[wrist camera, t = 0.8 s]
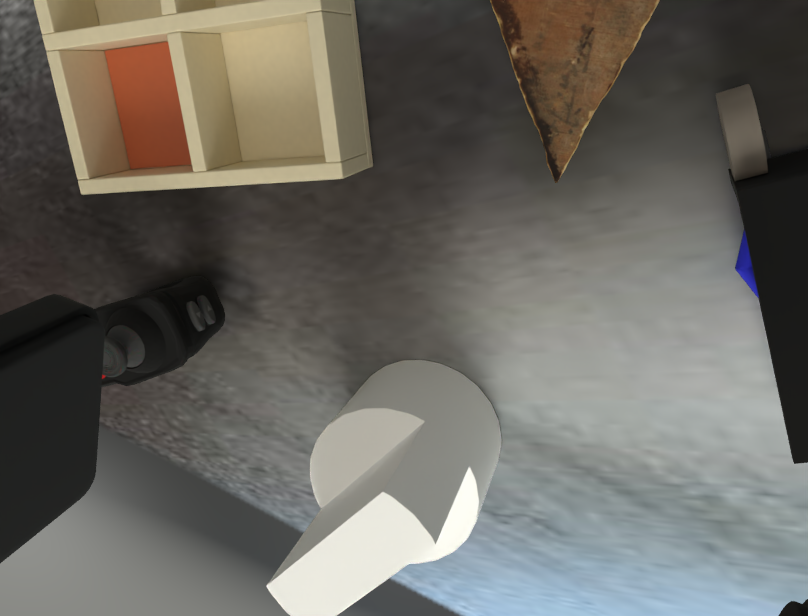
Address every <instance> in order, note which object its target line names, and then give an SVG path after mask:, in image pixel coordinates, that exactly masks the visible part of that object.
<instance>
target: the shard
mask: <svg viewBox="0 0 808 616" xmlns="http://www.w3.org/2000/svg"><path fill="white" fill-rule="evenodd" d="M490 1H491V4H492V8H493V11H494V13H495V15H496V17H497V20H498V23H499V25H500V28H501V33H502V36H503V39H504V41H505V44H506V46H507V49H508V52H509V55H510V59H511V63H512V66H513V69H514V72H515V75H516V78H517V80H518V82H519V87H520V89H521V91H522V94H523V97H524V100H525V103H526V105H527V108H528V111H529V113H530V114H531V116H532V119H533V122H534V124H535V126H536V127H537V129H538V131H539V134H540V137H541V139H542V142H543V146H544V149H545V151H546V161H547V164H548V166H549V168H550V171H551V174H552V176H553V179H554V181H555V183H557V182H558V180H559V178H560V177H561V175H562V174H563V172H564V171H565V169H566V167H567V164H568V162H569V161H570V159H571V157H572V155H573V154H574V152H575V150H576V149H577V147H578V144H579V141H580V139H581V137H582V134H583V132H584V130H585V128H586V127H587V125H588V123H589V121H590V120H591V118H592V116H593V114H594V112H595V110H596V109H597V107H598V105H599V104H600V102H601V100H602V99H603V98H604V97H605V96H606V94H607V93H608V91H609V90H610V89H611V87H612V85H613V84H614V82H615V80H616V78H617V77H618V75H619V73H620V71H621V69H622V66H623V65H624V63H625V61H626V60H627V59H628V57H629V56H630V54H631V53H632V52H633V50H634V48H635V46H636V44H637V42H638V40H639V39H640V37H641V33H642V31H643V29H644V27H645V26H646V24H647V23H648V22H649V20H650V18H651V15H652V14H653V12H654V10H655V9H656V7H657V5H658V3H659V1H660V0H490Z"/></svg>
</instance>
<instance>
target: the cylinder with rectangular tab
mask: <svg viewBox="0 0 808 616" xmlns="http://www.w3.org/2000/svg"><path fill="white" fill-rule="evenodd" d="M501 443H502V438H501V431H500V424H499V420H498V418H497V415H496V413H495V411H494V409H493V406H492V404H491V402H490V401H489V400H488V398H487V397H486V396H485V395H484V393H483V392H482V391H481V390H480V388H479V387H478V386H477V385H476V384H474V383H473V382H472V381H471V380H469V379H468V378H467V377H466V376H464V375H463V374H462V373H460V372H458V371H456V370H454V369H452V368H450V367H447V366H445V365H443V364H440V363H435V362H430V361H426V360H403V361H399V362H396V363H393V364H390V365H387V366H384V367H383V368H381V369H380V370H378V371H377V372H375V373H374V374H373V375H371V376H370V377H369V378H368V379H367V380H366V382H365V383H364V384H363V385H362V386H361V387H360V389H359V390H358V391H357V392H356V393H355V394H354V396H353V397H352V398H351V399H350V400H349V401H348V403H347V404H346V405H345V406H344V407H343V409H342V410H341V411H340V412H339V413H338V414H337V416H336V417H335V418H334V419H333V420H332V421H331V423H330V424H329V425H328V426H327V427H326V429H325V430H324V431H323V433H322V434H321V435H320V436H319V438H318V439H317V441H316V444H315V447H314V449H313V452H312V455H311V462H310V479H311V483H312V487H313V491H314V496H315V498H316V500H317V502H318V504H319V506H320V508H321V510H320V511H319V513H318V514H317V515H316V517H315V518H314V520H313V521H312V522H311V524H310V525H309V527H308V528H307V529H306V531H305V532H304V534H303V535H302V536H301V538H300V539H299V541H298V542H297V543H296V545H295V546H294V548H293V549H292V551H291V552H290V553H289V555H288V556H287V558H286V559H285V560H284V562H283V563H282V564H281V566H280V567H279V569H278V570H277V572H276V573H275V574H274V576H273V577H272V579H271V580H270V581H269V583H268V584H267V588H268V590H269V592H270V593H271V594H272V596H273V597H274V598H275V599H276V600H277V602H278V603H279V604H280V605H281V606H282V608H283V609H284V610H285V611H286V612H287V613H288V614H289V615H290V616H337V615H338V614H339V613H341V612H342V611H344V610H345V609H346V608H348V607H349V606H350V605H352V604H353V603H355V602H356V601H357V600H359V599H360V598H362V597H363V596H364V595H366V594H367V593H369V592H370V591H372V590H373V589H374V588H376V587H377V586H379V585H380V584H381V583H383V582H384V581H385V580H387V579H388V578H390V577H391V576H393V575H394V574H395V573H397V572H398V571H400V570H401V569H402V568H404V567H405V566H406V565H408V564H409V563H413V564H418V563H424V562H429V561H435V560H438V559H440V558H442V557H444V556H446V555H448V554H450V553H452V552H454V551H455V550H456V549H457V548H458V547H459V546H460V545H461V544H462V543H463V542H464V541H466V540H467V539H468V537H469V535H470V533H471V531H472V529H473V527H474V525H475V523H476V521H477V518H478V515H479V513H480V510H481V507H482V504H483V501H484V499H485V496H486V493H487V490H488V488H489V485H490V482H491V479H492V477H493V474H494V471H495V468H496V465H497V463H498V460H499V456H500V449H501Z"/></svg>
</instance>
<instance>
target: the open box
mask: <svg viewBox="0 0 808 616" xmlns="http://www.w3.org/2000/svg"><path fill="white" fill-rule="evenodd" d="M34 4H35V8H36V12H37V16H38V20H39V24H40V29H41V33H42V34H44V35H42V37H43V41H44V45H45V49H46V51H47V57H48V61H49V65H50V70H51V74H52V78H53V82H54V86H55V90H56V94H57V98H58V102H59V106H60V110H61V114H62V119H63V123H64V127H65V131H66V135H67V139H68V143H69V147H70V151H71V155H72V159H73V163H74V168H75V172H76V176H77V179H78V184H79V188H80V192H81V194H83V195H86V194H102V193H118V192H135V191H151V190H168V189H184V188H201V187H217V186H234V185H250V184H267V183H283V182H300V181H316V180H333V179H343V178H346V177H348V176H350V175H353V174H355V173H358V172H360V171H363V170H365V169H367V168H370V167H373V160H372V151H371V142H370V134H369V125H368V116H367V107H366V99H365V90H364V81H363V72H362V64H361V55H360V46H359V37H358V29H357V20H356V11H355V2H354V0H34Z"/></svg>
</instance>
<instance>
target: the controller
mask: <svg viewBox="0 0 808 616" xmlns="http://www.w3.org/2000/svg"><path fill="white" fill-rule="evenodd" d="M94 310H95V311H96V312H97V315H98V317H99V322H100V323H101V324H103V326H104V329H105V341H104V356H103V371H102V386H101V387H105V386H109V385H113V384H116V383H118V384H121V385H125V386H129V385H134V384H137V383H140V382H143V381H145V380H148V379H151V378H153V377H156V376H159V375H162V374H164V373H167V372H170V371H172V370H175V369H177V368H179V367H181V366H183V365H184V363H185V362H186V361H187V359H188V358H190V357H192V356H193V355H195V354H196V353H197V352H198V351H199V350H200V349H201V348H202V347H203V346H204V344H205V343H206V342H207V341H208V340H209V338H211V337H212V336H213V335H214V334H215V333H217V332H218V331H219V330H220V328H221V327H222V326H223V324H224V321H225V313H224V309H223V306H222V304H221V302H220V299H219V297H218V295H217V293H216V290H215V288H214V287H213V285H212V284H211V283H210V282H209V281H208V280H207V279H206V278H204V277H201V276H192V277H188V278H185V279H181V280H178V281H175V282H172V283H170V284H167V285H164V286H162V287H159V288H156V289H154V290H151V291H148V292H146V293H143V294H141V295H138V296H135V297H131V298H128V299H125V300H121V301H118V302H115V303H111V304H108V305H105V306H101V307H98V308H96V309H94Z"/></svg>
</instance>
